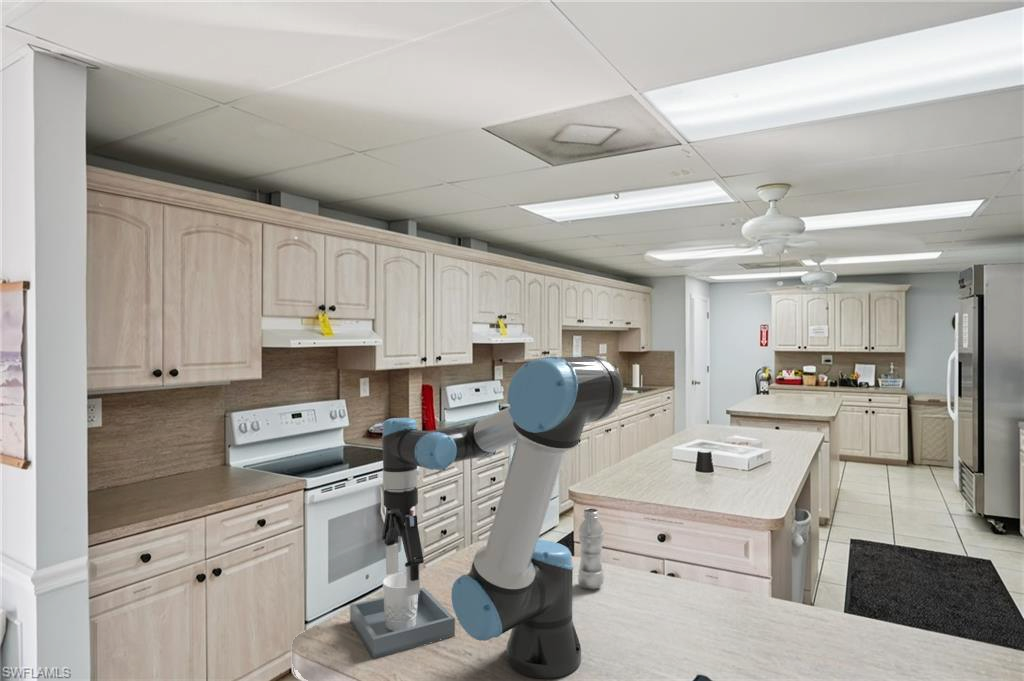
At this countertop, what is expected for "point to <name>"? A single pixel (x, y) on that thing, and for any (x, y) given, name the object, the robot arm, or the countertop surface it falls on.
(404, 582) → the white cup
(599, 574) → the plastic bottle
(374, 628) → the bin
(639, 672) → the countertop surface
